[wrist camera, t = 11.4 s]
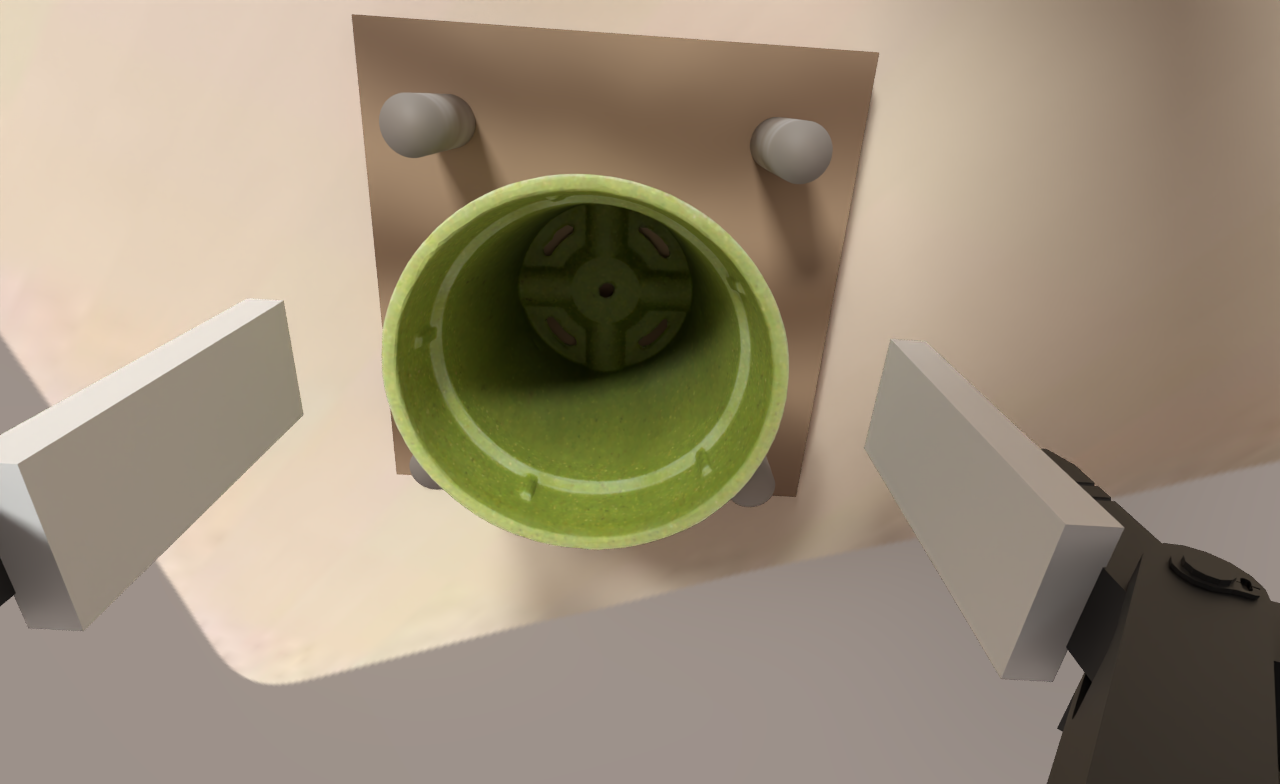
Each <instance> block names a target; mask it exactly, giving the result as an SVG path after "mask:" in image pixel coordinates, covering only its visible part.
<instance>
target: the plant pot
mask: <svg viewBox="0 0 1280 784" xmlns="http://www.w3.org/2000/svg"><path fill="white" fill-rule="evenodd" d="M567 225H569V226H571V227H573V231H574V232H573V233H572V234H571V235H568V236H567V238H566V239H564V240H563V241H562V242H561V243H560V244H559V245H558V246H557V247H556V248H555V249H554V250H553V252H552V254H551V255H550V256H545V253H544V247H545V246H546V245H547V244H548V243H549V242H550V241H551V240H552V239H553V237H554V234H555V233H556V232H557V231H558V230H559V229H561V228H563V227H565V226H567ZM640 227H641V228H648V229H649V230H651V231H652V232H654V233H655V234H657V235H658V236H659V237H660V238H661V239H662V240H663V241H664V243H665V244H666V245H667V246H668V250H669V256H668V257H667V258H663V257H661V255H660V253H659V252H658V251H657V249H656V248H655V247H654V246H653V244H652V243H651V242H650V241H649V240H648V239H647V238H646V237H644V235H643V234H641V233H640V232H639V228H640ZM605 283H609V284H611V285H612V286H613V287H614V292H613V294H612V295H611V296H610V297H607V298H604V297H602V296H601V295H600V292H599V288H600V287H601V286H602V285H603V284H605ZM549 317H553V318H554V319H555V320H556V321H557V322H558V323H559V325H560V326H561V327H562V328H563V330H564V331H565V332H567V333H568V334H569V335H571V336H573V337H574V338H575V339H576V341H577V344H576V345H569V344H566V343H564V342H563V341H561V340H560V339H559V338H558V337H557V336H556V335H555V334H554V333H553V332H552V331H551V329H550V327H549V325H548V323H547V318H549ZM663 319H666V320H667V328H666V329H665V330H664V332H663V333H662V334H661V335H660V336H659V337H658V338H657V339H656V340H655V341H654V342H652V343H651V344H649V345H645V346H641V345H640V344H639V343H638V342H639V340H641V339H642V338H643V337H644V336H646V335H647V334H649V333H650V332H652V331H653V330H654V329H655V328H656V327H657V326H658V324H659V323H660V322H661V321H662V320H663ZM382 373H383V381H384V387H385V392H386V396H387V399H388V402H389V406H390V409H391V412H392V415H393V418H394V421H395V423H396V426H397V428H398V430H399V432H400V434H401V435H402V437H403V439H404V441H405V443H406V445H407V446H408V448H409V450H410V451H411V453H412V454H413V456H414V457H415V458H416V460H417V461H418V463H419V464H420V465H421V466H422V468H423V469H424V470H425V471H426V472H427V474H428V475H429V476H430V477H431V478H432V480H433V481H435V482H436V483H437V484H438V485H439V487H441V488H442V489H443V490H445V491H446V492H447V493H448V494H449V495H450V496H451V497H452V498H454V499H455V500H456V501H457V502H459V503H460V504H461V505H462V506H464V507H465V508H467V509H468V510H470V511H471V512H473V513H474V514H475V515H477V516H478V517H480V518H482V519H484V520H485V521H487V522H489V523H491V524H493V525H495V526H497V527H499V528H501V529H503V530H506V531H508V532H510V533H513V534H515V535H518V536H523V537H526V538H529V539H531V540H534V541H538V542H542V543H546V544H550V545H555V546H561V547H570V548H582V549H593V550H603V549H615V548H625V547H631V546H637V545H642V544H646V543H649V542H652V541H656V540H660V539H663V538H666V537H668V536H671V535H673V534H676V533H678V532H681V531H684V530H686V529H688V528H690V527H692V526H694V525H696V524H698V523H699V522H701V521H703V520H704V519H706V518H707V517H709V516H710V515H711V514H713V513H714V512H715V511H717V510H718V509H720V508H721V507H722V506H723V505H725V504H726V503H727V502H728V501H729V500H730V499H732V498H733V497H734V496H735V495H736V494H737V493H738V492H739V491H740V490H741V489H742V488H743V487H744V485H745V484H746V483H747V482H748V481H749V480H750V478H751V477H752V476H753V475H754V473H755V472H756V470H757V469H758V467H759V466H760V464H761V463H762V461H763V460H764V458H765V456H766V454H767V453H768V451H769V449H770V447H771V445H772V443H773V441H774V439H775V436H776V433H777V431H778V429H779V426H780V423H781V419H782V417H783V412H784V407H785V403H786V399H787V390H788V379H789V352H788V342H787V336H786V332H785V328H784V324H783V321H782V318H781V315H780V311H779V308H778V306H777V303H776V301H775V299H774V296H773V294H772V292H771V290H770V288H769V287H768V285H767V283H766V281H765V280H764V278H763V276H762V274H761V273H760V271H759V269H758V268H757V266H756V265H755V263H754V262H753V261H752V259H751V258H750V257H749V256H748V254H747V253H746V252H745V251H744V250H743V248H742V247H741V246H740V245H739V244H738V243H737V242H736V241H735V240H734V239H733V238H732V237H731V235H730V234H728V233H727V232H726V231H725V230H724V229H723V228H722V227H721V226H720V225H718V224H717V223H716V222H714V221H713V220H712V219H711V218H710V217H708V216H707V215H705V214H704V213H702V212H701V211H699V210H698V209H696V208H694V207H693V206H691V205H690V204H688V203H686V202H684V201H682V200H680V199H678V198H676V197H674V196H673V195H671V194H668V193H666V192H663V191H661V190H658V189H656V188H653V187H650V186H647V185H644V184H641V183H637V182H634V181H630V180H625V179H621V178H616V177H611V176H602V175H593V174H559V175H549V176H543V177H537V178H533V179H528V180H524V181H520V182H516V183H512V184H509V185H506V186H504V187H501V188H498V189H496V190H494V191H491V192H489V193H487V194H485V195H483V196H481V197H479V198H477V199H475V200H474V201H472V202H470V203H468V204H467V205H466V206H464V207H462V208H461V209H459V210H458V211H456V212H455V213H454V214H453V215H451V216H450V217H449V218H448V219H446V220H445V221H444V222H443V223H442V224H440V225H439V226H438V227H437V228H436V229H435V230H434V231H433V232H432V233H431V234H430V235H429V237H428V238H427V239H426V240H425V241H424V242H423V243H422V244H421V246H420V247H419V248H418V249H417V251H416V252H415V253H414V255H413V256H412V258H411V259H410V260H409V262H408V263H407V265H406V267H405V269H404V271H403V272H402V274H401V276H400V278H399V280H398V283H397V285H396V287H395V289H394V291H393V294H392V297H391V299H390V303H389V306H388V309H387V312H386V316H385V321H384V325H383V333H382Z"/></svg>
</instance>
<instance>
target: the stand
mask: <svg viewBox="0 0 1280 784" xmlns="http://www.w3.org/2000/svg"><path fill="white" fill-rule="evenodd" d="M352 22H353V33H354V43H355V53H356V63H357V73H358V84H359V94H360V104H361V114H362V124H363V135H364V145H365V155H366V165H367V175H368V186H369V196H370V206H371V216H372V226H373V237H374V247H375V257H376V267H377V278H378V288H379V298H380V308H381V318H382V329H383V325H384V321H385V316H386V312H387V309H388V306H389V303H390V299H391V297H392V294H393V291H394V289H395V287H396V285H397V283H398V280H399V278H400V276H401V274H402V272H403V271H404V269H405V267H406V265H407V263H408V262H409V260H410V259H411V258H412V256H413V255H414V253H415V252H416V251H417V249H418V248H419V247H420V246H421V244H422V243H423V242H424V241H425V240H426V239H427V238H428V237H429V235H430V234H431V233H432V232H433V231H434V230H435V229H436V228H437V227H438V226H439V225H440V224H442V223H443V222H444V221H445V220H446V219H448V218H449V217H450V216H451V215H453V214H454V213H455V212H456V211H458V210H459V209H461V208H462V207H464V206H466V205H467V204H468V203H470V202H472V201H474V200H475V199H477V198H479V197H481V196H483V195H485V194H487V193H489V192H491V191H494V190H496V189H498V188H501V187H504V186H506V185H509V184H512V183H516V182H520V181H524V180H528V179H533V178H537V177H543V176H549V175H559V174H593V175H602V176H611V177H616V178H621V179H625V180H630V181H634V182H637V183H641V184H644V185H647V186H650V187H653V188H656V189H658V190H661V191H663V192H666V193H668V194H671V195H673V196H674V197H676V198H678V199H680V200H682V201H684V202H686V203H688V204H690V205H691V206H693V207H694V208H696V209H698V210H699V211H701V212H702V213H704V214H705V215H707V216H708V217H710V218H711V219H712V220H713V221H714V222H716V223H717V224H718V225H720V226H721V227H722V228H723V229H724V230H725V231H726V232H727V233H728V234H730V235H731V237H732V238H733V239H734V240H735V241H736V242H737V243H738V244H739V245H740V246H741V247H742V248H743V250H744V251H745V252H746V253H747V254H748V256H749V257H750V258H751V259H752V261H753V262H754V263H755V265H756V266H757V268H758V269H759V271H760V273H761V274H762V276H763V278H764V280H765V281H766V283H767V285H768V287H769V288H770V290H771V292H772V294H773V296H774V299H775V301H776V303H777V306H778V308H779V311H780V315H781V318H782V321H783V324H784V328H785V332H786V336H787V342H788V352H789V379H788V390H787V399H786V403H785V407H784V412H783V417H782V419H781V423H780V426H779V429H778V431H777V433H776V436H775V439H774V441H773V443H772V445H771V447H770V449H769V451H768V453H767V454H766V456H765V458H764V460H763V461H762V463H761V464H760V466H759V467H758V469H757V470H756V472H755V473H754V475H753V476H752V477H751V478H750V480H749V481H748V482H747V483H746V484H745V485H744V487H743V488H742V489H741V490H740V491H739V492H738V493H737V494H736V495H735V496H734V497H733V498H732V499H731V500H732V501H733V502H735V503H736V504H738V505H740V506H744V507H755V506H759V505H761V504H763V503H765V502H766V501H768V500H769V499H770V497H771V496H772V495H773V496H790V497H796V493H797V488H798V483H799V477H800V472H801V467H802V461H803V456H804V451H805V445H806V440H807V435H808V429H809V424H810V419H811V414H812V408H813V403H814V398H815V392H816V387H817V382H818V376H819V371H820V366H821V360H822V355H823V350H824V344H825V339H826V334H827V328H828V323H829V318H830V312H831V307H832V302H833V296H834V291H835V286H836V280H837V275H838V270H839V264H840V259H841V254H842V248H843V243H844V238H845V232H846V227H847V222H848V216H849V211H850V206H851V200H852V195H853V190H854V185H855V179H856V174H857V169H858V163H859V158H860V153H861V147H862V142H863V137H864V131H865V126H866V121H867V115H868V110H869V105H870V99H871V94H872V89H873V83H874V78H875V73H876V67H877V62H878V57H879V53H877V52H864V51H850V50H836V49H822V48H808V47H795V46H781V45H767V44H753V43H739V42H726V41H712V40H698V39H684V38H670V37H657V36H643V35H629V34H615V33H601V32H588V31H574V30H560V29H546V28H532V27H519V26H505V25H491V24H477V23H463V22H450V21H436V20H422V19H408V18H394V17H381V16H367V15H353V14H352ZM573 232H574V231H573V227H571V226H569V225H567V226H565V227H563V228H561V229H559V230H558V231H557V232H556V233H555V234H554V237H553V239H552V240H551V241H550V242H549V243H548V244H547V245H546V246H545V247H544V253H545V256H550V255H551V254H552V252H553V250H554V249H555V248H556V247H557V246H558V245H559V244H560V243H561V242H562V241H563V240H564V239H566V238H567V236H568V235H571V234H572V233H573ZM639 232H640V233H641V234H643V235H644V237H646V238H647V239H648V240H649V241H650V242H651V243H652V244H653V246H654V247H655V248H656V249H657V251H658V252H659V253H660V255H661V257H663V258H667V257H668V256H669V250H668V246H667V245H666V244H665V243H664V241H663V240H662V239H661V238H660V237H659V236H658V235H657V234H655V233H654V232H652V231H651V230H649V229H648V228H641V227H640V228H639ZM599 292H600V295H601V296H602V297H604V298H607V297H610V296H611V295H612V294H613V292H614V287H613V286H612V285H611V284H609V283H605V284H603V285H602V286H601V287H600V288H599ZM547 323H548V325H549V327H550V329H551V331H552V332H553V333H554V334H555V335H556V336H557V337H558V338H559V339H560V340H561V341H563V342H564V343H566V344H569V345H576V344H577V341H576V339H575V338H574V337H573V336H571V335H569V334H568V333H567V332H565V331H564V330H563V328H562V327H561V326H560V325H559V323H558V322H557V321H556V320H555V319H554V318H553V317H549V318H547ZM666 328H667V320H666V319H663V320H662V321H661V322H660V323H659V324H658V326H657V327H656V328H655V329H654V330H653V331H652V332H650V333H649V334H647V335H646V336H644V337H643V338H642V339H641V340H639V342H638V343H639V344H640V345H641V346H645V345H649V344H651V343H652V342H654V341H655V340H656V339H657V338H658V337H659V336H660V335H661V334H662V333H663V332H664V330H665V329H666ZM390 410H391V409H390ZM391 420H392V431H393V441H394V451H395V461H396V471H397V474H403V475H412V476H413V478H414V479H415V480H416V481H417V482H418V483H419V484H421V485H422V486H424V487H427V488H430V489H442V488H441V487H439V485H438V484H437V483H436V482H435V481H433V480H432V478H431V477H430V476H429V475H428V474H427V472H426V471H425V470H424V469H423V468H422V466H421V465H420V464H419V463H418V461H417V460H416V458H415V457H414V456H413V454H412V453H411V451H410V450H409V448H408V446H407V445H406V443H405V441H404V439H403V437H402V435H401V434H400V432H399V430H398V428H397V426H396V423H395V421H394V418H393V415H392V412H391Z"/></svg>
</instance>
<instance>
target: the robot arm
mask: <svg viewBox="0 0 1280 784" xmlns="http://www.w3.org/2000/svg"><path fill="white" fill-rule="evenodd" d="M302 416H303V410H302V404H301V398H300V392H299V387H298V381H297V375H296V369H295V364H294V358H293V352H292V346H291V341H290V335H289V329H288V323H287V318H286V312H285V306H284V301H282V300H266V299H250V298H247V299H245V300H243V301H242V302H240V303H238V304H236V305H234V306H233V307H231V308H229V309H227V310H225V311H224V312H222V313H220V314H218V315H216V316H214V317H213V318H211V319H209V320H207V321H205V322H204V323H202V324H200V325H198V326H196V327H195V328H193V329H191V330H189V331H187V332H186V333H184V334H182V335H180V336H178V337H177V338H175V339H173V340H171V341H169V342H167V343H166V344H164V345H162V346H160V347H158V348H157V349H155V350H153V351H151V352H149V353H148V354H146V355H144V356H142V357H140V358H139V359H137V360H135V361H133V362H131V363H129V364H128V365H126V366H124V367H122V368H120V369H119V370H117V371H115V372H113V373H111V374H110V375H108V376H106V377H104V378H102V379H101V380H99V381H97V382H95V383H93V384H91V385H90V386H88V387H86V388H84V389H82V390H81V391H79V392H77V393H75V394H73V395H72V396H70V397H68V398H66V399H64V400H63V401H61V402H59V403H57V404H55V405H54V406H51V407H49V408H48V409H46V410H44V411H42V412H40V413H39V414H37V415H35V416H33V417H31V418H29V419H28V420H26V421H24V422H23V423H21V424H19V425H17V426H15V427H13V428H11V429H10V430H8V431H6V432H4V433H2V434H0V606H1V605H2V604H3V603H5V602H6V601H7V600H8V599H10V598H11V597H12V596H13V595H14V597H15V599H16V601H17V604H18V606H19V608H20V610H21V612H22V615H23V617H24V619H25V622H26V624H27V626H28V628H33V629H52V630H71V631H84V630H85V629H86V628H87V627H88V626H89V625H90V624H91V623H92V622H93V621H95V620H96V619H97V618H98V617H99V615H101V614H102V613H103V612H104V611H105V610H106V609H107V608H108V607H109V606H110V605H111V603H113V602H114V601H115V600H116V599H117V598H118V597H119V596H120V595H121V594H122V593H123V592H124V591H125V590H126V589H127V588H128V587H129V586H130V585H131V584H132V583H133V582H134V581H135V580H136V579H137V578H138V577H139V576H140V575H141V574H142V573H143V572H144V571H145V570H146V569H147V568H148V567H149V566H150V565H151V564H152V563H153V562H154V561H155V560H156V559H157V558H159V557H160V556H161V555H162V554H163V553H164V552H165V551H166V550H167V549H168V548H169V547H170V546H171V545H172V544H173V543H174V542H175V541H176V540H177V539H178V538H179V537H180V536H181V535H182V534H183V533H184V532H185V531H186V530H187V529H188V528H189V527H190V526H191V525H192V524H193V523H194V522H195V521H196V520H197V519H198V518H199V517H200V516H201V515H202V514H203V513H204V512H205V511H206V510H207V509H208V508H209V507H210V506H211V505H212V504H213V503H214V502H215V501H216V500H217V499H218V498H219V497H220V496H221V495H222V494H224V493H225V492H226V491H227V490H228V489H229V488H230V487H231V486H232V485H233V484H234V483H235V482H236V481H237V480H238V479H239V478H240V477H241V476H242V475H243V474H244V473H245V472H246V471H247V470H248V469H249V468H250V467H251V466H252V465H253V464H254V463H255V462H256V461H257V460H258V459H259V458H260V457H261V456H262V455H263V454H264V453H265V452H266V451H267V450H268V449H269V448H270V447H271V446H272V445H273V444H274V443H275V442H276V441H277V440H278V439H279V438H280V437H281V436H282V435H283V434H284V433H285V432H286V431H287V430H289V429H290V428H291V427H292V426H293V425H294V424H295V423H296V422H297V421H298V420H299V419H300V418H301V417H302ZM864 449H865V450H866V452H867V454H868V456H869V457H870V459H871V461H872V462H873V464H874V466H875V467H876V469H877V471H878V472H879V474H880V476H881V477H882V479H883V481H884V482H885V484H886V486H887V488H888V489H889V491H890V493H891V494H892V496H893V498H894V499H895V501H896V503H897V504H898V506H899V508H900V509H901V511H902V513H903V515H904V516H905V518H906V520H907V521H908V523H909V525H910V526H911V528H912V530H913V531H914V533H915V535H916V536H917V538H918V540H919V542H920V543H921V545H922V546H923V548H924V550H925V552H926V553H927V555H928V557H929V558H930V560H931V562H932V563H933V565H934V567H935V568H936V570H937V572H938V574H939V575H940V577H941V579H942V580H943V582H944V584H945V585H946V587H947V589H948V590H949V592H950V594H951V595H952V597H953V599H954V600H955V602H956V604H957V606H958V607H959V609H960V611H961V612H962V614H963V616H964V617H965V619H966V620H967V622H968V624H969V626H970V627H971V629H972V631H973V632H974V634H975V636H976V638H977V639H978V641H979V643H980V644H981V646H982V648H983V649H984V651H985V653H986V654H987V656H988V658H989V660H990V661H991V663H992V665H993V666H994V668H995V669H996V671H997V673H998V675H999V676H1000V678H1001V679H1010V680H1030V681H1049V682H1053V681H1054V678H1055V676H1056V674H1057V672H1058V670H1059V668H1060V665H1061V663H1062V661H1063V659H1064V657H1065V655H1066V652H1067V650H1069V652H1070V653H1071V655H1072V656H1073V657H1074V658H1075V660H1076V661H1077V663H1078V664H1079V665H1080V667H1081V668H1082V669H1083V671H1084V672H1085V673H1084V675H1083V677H1082V679H1081V681H1080V683H1079V685H1078V687H1077V689H1076V691H1075V693H1074V695H1073V697H1072V699H1071V701H1070V703H1069V705H1068V708H1067V709H1066V711H1065V713H1064V716H1063V718H1062V720H1061V722H1060V724H1059V726H1058V728H1057V729H1059V730H1061V731H1063V733H1062V736H1061V740H1060V743H1059V746H1058V749H1057V752H1056V756H1055V759H1054V762H1053V766H1052V769H1051V772H1050V775H1049V779H1048V782H1047V784H1280V603H1277V602H1273V601H1271V600H1270V599H1269V596H1268V594H1267V592H1266V590H1265V589H1264V588H1263V587H1262V586H1261V585H1260V584H1259V583H1258V582H1257V581H1256V580H1255V579H1254V578H1253V577H1252V576H1250V575H1249V574H1247V573H1245V572H1244V571H1242V570H1241V569H1239V568H1238V567H1236V566H1235V565H1233V564H1231V563H1230V562H1227V561H1225V560H1223V559H1221V558H1218V557H1216V556H1214V555H1212V554H1209V553H1207V552H1204V551H1200V550H1197V549H1194V548H1190V547H1187V546H1183V545H1174V544H1167V543H1163V544H1162V543H1161V542H1160V541H1159V540H1157V539H1156V538H1155V537H1154V536H1153V535H1152V534H1151V533H1150V532H1149V531H1147V530H1146V529H1145V528H1144V527H1143V526H1142V525H1141V524H1140V523H1138V522H1137V521H1136V520H1135V519H1134V518H1133V517H1132V516H1131V515H1130V514H1129V513H1127V512H1126V511H1125V510H1124V509H1123V508H1122V507H1121V506H1120V505H1118V504H1117V503H1116V502H1115V501H1111V497H1110V496H1109V495H1107V494H1106V493H1105V492H1104V491H1103V490H1102V489H1101V488H1100V487H1099V486H1094V482H1093V481H1092V480H1091V479H1090V478H1089V477H1087V476H1086V475H1085V474H1084V473H1083V472H1082V471H1081V470H1080V469H1078V468H1077V467H1076V466H1075V465H1074V464H1072V463H1070V462H1068V461H1067V460H1065V459H1063V458H1061V457H1059V456H1058V455H1056V454H1054V453H1052V452H1051V451H1049V450H1047V449H1040V448H1039V447H1038V446H1037V445H1036V444H1035V443H1034V442H1033V441H1031V440H1030V439H1029V438H1028V437H1027V436H1026V435H1025V434H1024V433H1023V432H1022V431H1021V430H1020V429H1019V428H1018V427H1016V426H1015V425H1014V424H1013V423H1012V422H1011V421H1010V420H1009V419H1008V418H1007V417H1006V416H1005V415H1004V414H1003V413H1002V412H1000V411H999V410H998V409H997V408H996V407H995V406H994V405H993V404H992V403H991V402H990V401H989V400H988V399H987V398H986V397H984V396H983V395H982V394H981V393H980V392H979V391H978V390H977V389H976V388H975V387H974V386H973V385H972V384H971V383H970V382H968V381H967V380H966V379H965V378H964V377H963V376H962V375H961V374H960V373H959V372H958V371H957V370H956V369H955V368H953V367H952V366H951V365H950V364H949V363H948V362H947V361H946V360H945V359H944V358H943V357H942V356H941V355H940V354H939V353H937V352H936V351H935V350H934V349H933V348H932V347H931V346H930V345H929V344H928V343H927V342H926V341H916V340H900V339H890V343H889V348H888V352H887V356H886V360H885V364H884V368H883V372H882V376H881V381H880V385H879V389H878V393H877V397H876V401H875V405H874V410H873V414H872V418H871V422H870V426H869V430H868V434H867V438H866V443H865V447H864Z"/></svg>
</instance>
